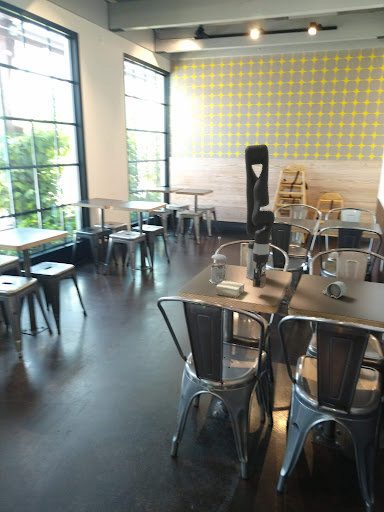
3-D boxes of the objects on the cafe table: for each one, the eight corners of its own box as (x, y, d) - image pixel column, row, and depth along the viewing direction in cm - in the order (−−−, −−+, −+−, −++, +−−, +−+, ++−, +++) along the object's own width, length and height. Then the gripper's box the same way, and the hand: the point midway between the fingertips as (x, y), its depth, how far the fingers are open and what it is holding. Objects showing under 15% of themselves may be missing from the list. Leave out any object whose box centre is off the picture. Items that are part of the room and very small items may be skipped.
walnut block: (255, 283, 192) (256, 272, 191) (265, 285, 190) (266, 273, 189) (252, 286, 188) (253, 275, 187) (262, 288, 186) (263, 276, 184)
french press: (205, 280, 209) (206, 236, 203) (219, 276, 217) (221, 233, 210) (218, 285, 202) (219, 239, 196) (232, 281, 210) (234, 236, 203)
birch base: (224, 287, 199) (224, 280, 198) (244, 291, 195) (244, 283, 194) (215, 293, 190) (215, 286, 189) (236, 297, 185) (236, 289, 184)
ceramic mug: (347, 296, 190) (348, 281, 188) (340, 300, 184) (342, 285, 182) (326, 291, 197) (327, 277, 195) (319, 295, 191) (320, 280, 189)
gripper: (257, 247, 192) (256, 279, 197) (249, 254, 180) (247, 288, 184) (272, 249, 189) (270, 281, 194) (264, 256, 177) (262, 290, 181)
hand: (259, 284), depth 189 cm, fingers closed on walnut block, 5 cm apart
